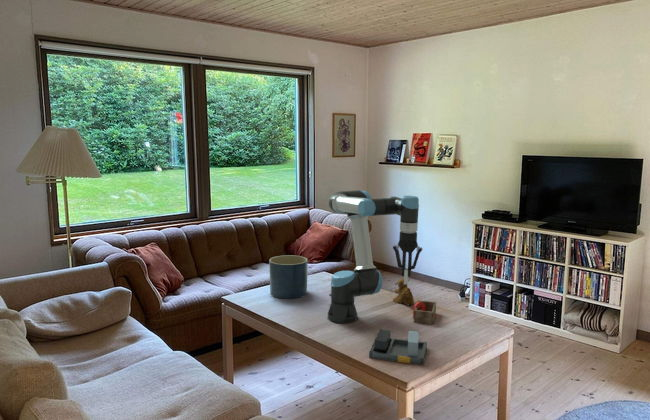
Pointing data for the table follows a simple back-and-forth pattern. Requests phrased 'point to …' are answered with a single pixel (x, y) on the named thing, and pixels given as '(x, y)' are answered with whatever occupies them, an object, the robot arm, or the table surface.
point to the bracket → (420, 306)
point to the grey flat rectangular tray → (395, 349)
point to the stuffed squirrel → (403, 294)
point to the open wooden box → (425, 313)
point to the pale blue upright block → (413, 343)
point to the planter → (288, 276)
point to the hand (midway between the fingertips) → (405, 283)
